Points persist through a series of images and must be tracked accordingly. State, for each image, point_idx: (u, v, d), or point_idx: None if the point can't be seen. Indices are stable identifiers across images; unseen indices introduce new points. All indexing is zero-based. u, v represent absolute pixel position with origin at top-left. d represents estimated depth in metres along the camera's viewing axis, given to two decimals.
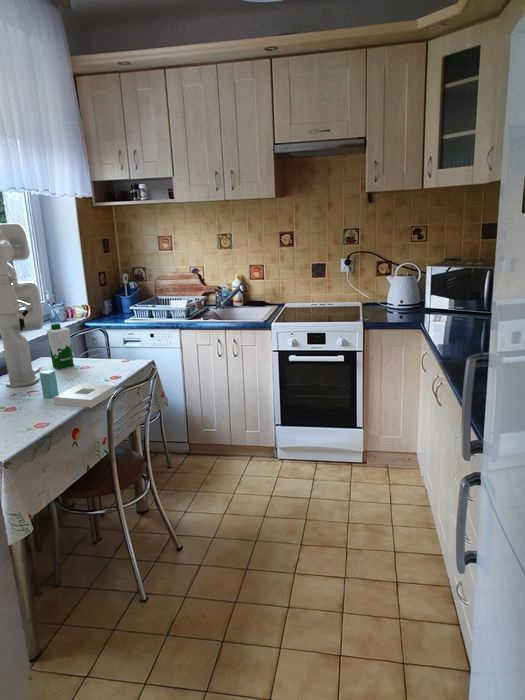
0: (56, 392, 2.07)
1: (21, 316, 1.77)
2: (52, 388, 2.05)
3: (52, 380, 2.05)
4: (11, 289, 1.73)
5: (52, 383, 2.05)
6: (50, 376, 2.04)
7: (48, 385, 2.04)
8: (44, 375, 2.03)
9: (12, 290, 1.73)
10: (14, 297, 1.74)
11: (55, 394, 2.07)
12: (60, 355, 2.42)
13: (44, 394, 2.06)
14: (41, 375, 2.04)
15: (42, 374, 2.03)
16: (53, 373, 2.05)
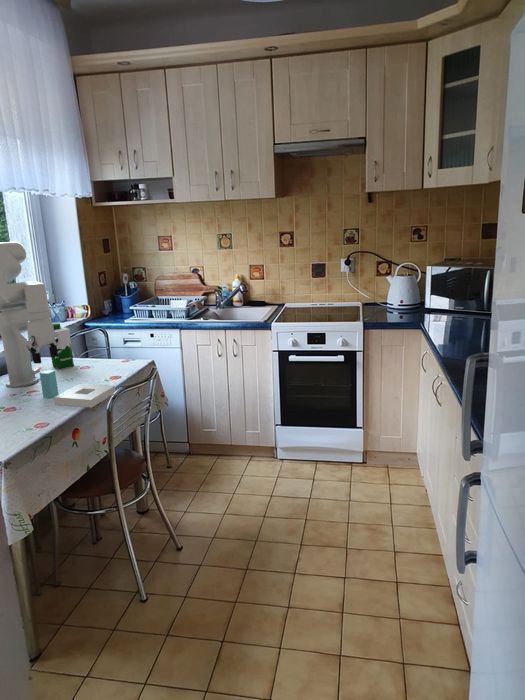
0: (56, 392, 2.07)
1: (56, 344, 2.07)
2: (52, 388, 2.05)
3: (52, 380, 2.05)
4: (50, 321, 2.03)
5: (52, 383, 2.05)
6: (50, 376, 2.04)
7: (48, 385, 2.04)
8: (44, 375, 2.03)
9: (51, 322, 2.03)
10: (53, 328, 2.04)
11: (55, 394, 2.07)
12: (60, 355, 2.42)
13: (44, 394, 2.06)
14: (41, 375, 2.04)
15: (42, 374, 2.03)
16: (53, 373, 2.05)
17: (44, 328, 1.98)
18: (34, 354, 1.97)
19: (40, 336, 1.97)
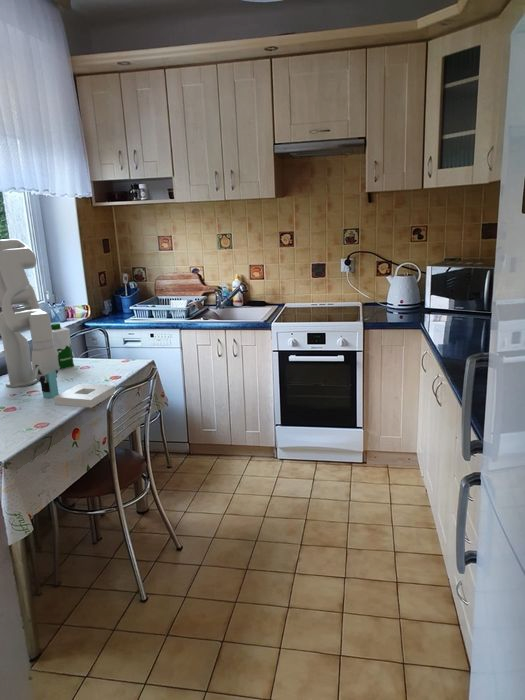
0: (56, 392, 2.07)
1: (56, 375, 2.08)
2: (52, 388, 2.05)
3: (52, 380, 2.05)
4: (54, 349, 2.06)
5: (52, 383, 2.05)
6: (50, 376, 2.04)
7: None
8: None
9: (55, 350, 2.06)
10: None
11: (55, 394, 2.07)
12: (60, 355, 2.42)
13: (44, 394, 2.06)
14: None
15: None
16: (53, 373, 2.05)
17: (48, 356, 2.01)
18: (43, 383, 2.03)
19: (44, 365, 2.00)
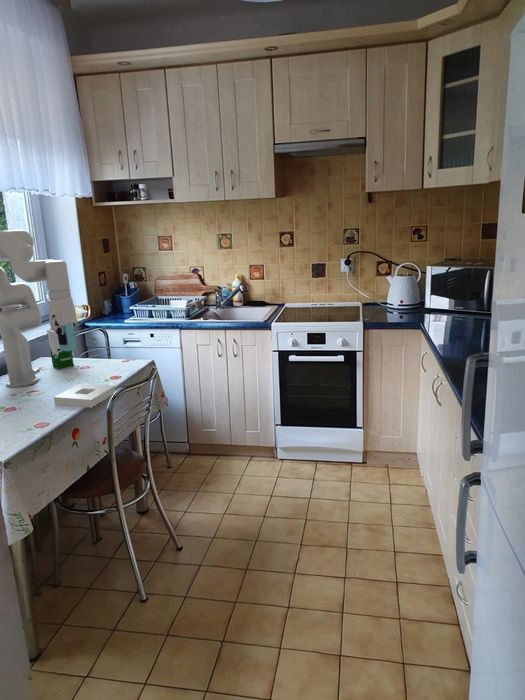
0: (74, 345, 1.99)
1: (73, 328, 2.00)
2: (70, 341, 1.97)
3: (69, 332, 1.96)
4: (71, 300, 1.97)
5: (69, 335, 1.96)
6: (67, 328, 1.95)
7: None
8: None
9: (72, 301, 1.98)
10: None
11: (73, 347, 1.98)
12: (60, 355, 2.42)
13: (61, 347, 1.97)
14: None
15: None
16: (70, 325, 1.97)
17: (65, 306, 1.93)
18: (60, 335, 1.94)
19: (61, 315, 1.92)
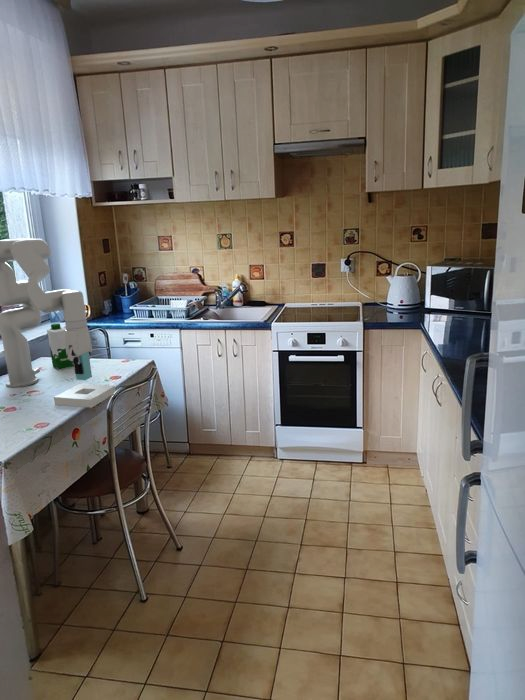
0: (89, 374, 2.00)
1: (89, 357, 2.01)
2: (86, 370, 1.98)
3: (85, 361, 1.98)
4: (87, 330, 1.99)
5: (85, 365, 1.98)
6: (83, 357, 1.97)
7: (82, 366, 1.97)
8: None
9: (88, 331, 1.99)
10: None
11: (89, 376, 2.00)
12: (60, 355, 2.42)
13: (77, 376, 1.99)
14: None
15: None
16: (87, 354, 1.98)
17: (81, 336, 1.94)
18: (76, 365, 1.96)
19: (77, 345, 1.93)
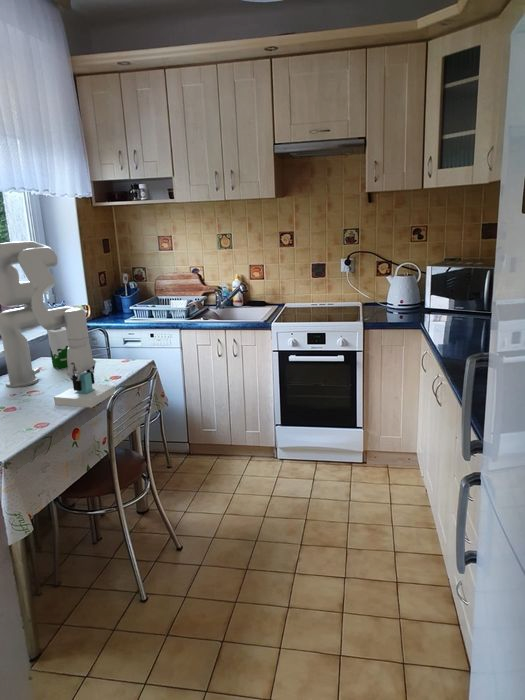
0: None
1: (93, 371, 2.04)
2: (88, 391, 2.01)
3: (87, 382, 2.00)
4: (89, 347, 2.01)
5: (87, 386, 2.00)
6: (86, 378, 1.99)
7: (84, 387, 1.99)
8: (80, 377, 1.98)
9: (90, 348, 2.01)
10: (91, 353, 2.02)
11: None
12: (60, 355, 2.42)
13: None
14: None
15: None
16: (89, 375, 2.01)
17: (83, 354, 1.96)
18: (75, 382, 1.96)
19: (79, 363, 1.95)
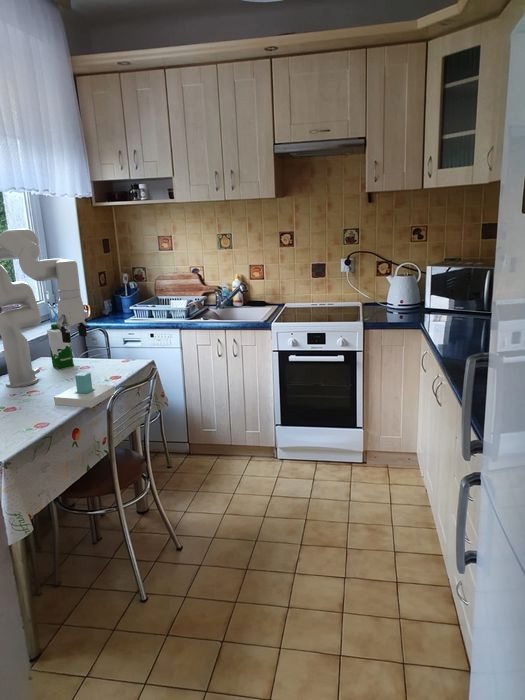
0: None
1: (85, 323, 2.02)
2: (88, 391, 2.01)
3: (87, 382, 2.00)
4: (81, 300, 1.98)
5: (87, 386, 2.00)
6: (86, 378, 1.99)
7: (84, 387, 1.99)
8: (80, 377, 1.98)
9: None
10: (83, 307, 1.99)
11: None
12: (60, 355, 2.42)
13: None
14: (77, 377, 1.99)
15: (78, 376, 1.99)
16: (89, 375, 2.01)
17: (74, 306, 1.94)
18: (64, 333, 1.93)
19: (70, 315, 1.92)
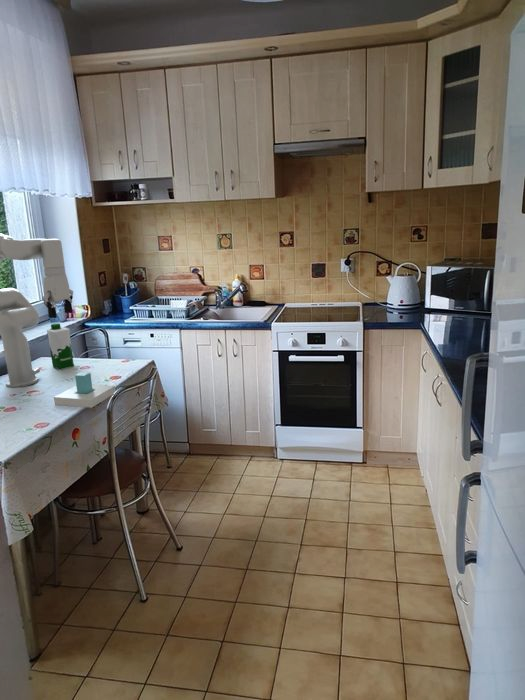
0: None
1: (70, 300, 2.12)
2: (88, 391, 2.01)
3: (87, 382, 2.00)
4: (66, 278, 2.07)
5: (87, 386, 2.00)
6: (86, 378, 1.99)
7: (84, 387, 1.99)
8: (80, 377, 1.98)
9: None
10: (68, 284, 2.09)
11: None
12: (60, 355, 2.42)
13: None
14: (77, 377, 1.99)
15: (78, 376, 1.99)
16: (89, 375, 2.01)
17: (59, 283, 2.03)
18: (50, 308, 2.02)
19: (56, 291, 2.02)
